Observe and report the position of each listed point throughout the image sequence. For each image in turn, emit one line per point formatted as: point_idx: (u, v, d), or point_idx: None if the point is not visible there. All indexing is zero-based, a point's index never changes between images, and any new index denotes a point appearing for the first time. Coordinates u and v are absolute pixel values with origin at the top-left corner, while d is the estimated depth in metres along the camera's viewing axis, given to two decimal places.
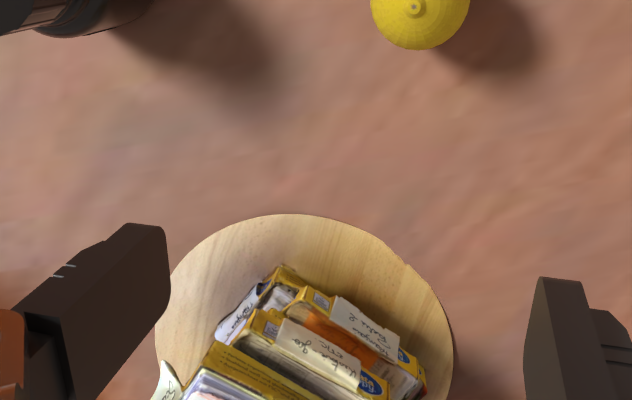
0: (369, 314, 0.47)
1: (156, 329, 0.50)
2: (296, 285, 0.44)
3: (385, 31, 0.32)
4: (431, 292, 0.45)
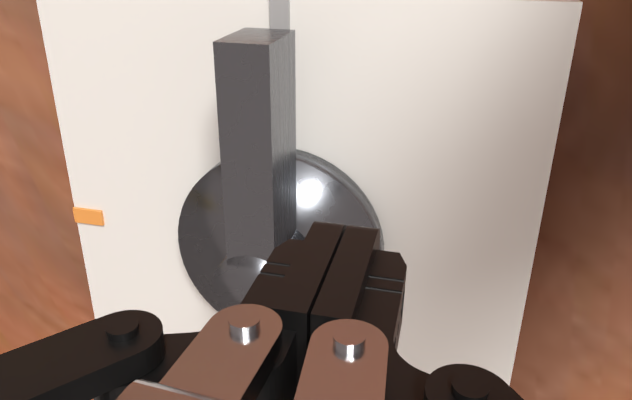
0: None
1: None
2: None
3: None
4: None
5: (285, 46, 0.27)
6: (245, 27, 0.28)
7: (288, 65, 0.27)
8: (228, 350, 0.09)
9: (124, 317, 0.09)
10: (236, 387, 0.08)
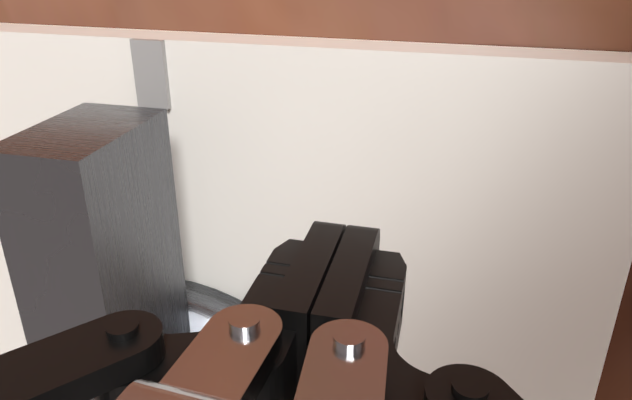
0: None
1: None
2: None
3: None
4: None
5: (138, 145, 0.15)
6: (84, 102, 0.16)
7: (151, 174, 0.15)
8: (228, 350, 0.09)
9: (124, 317, 0.09)
10: (236, 387, 0.08)
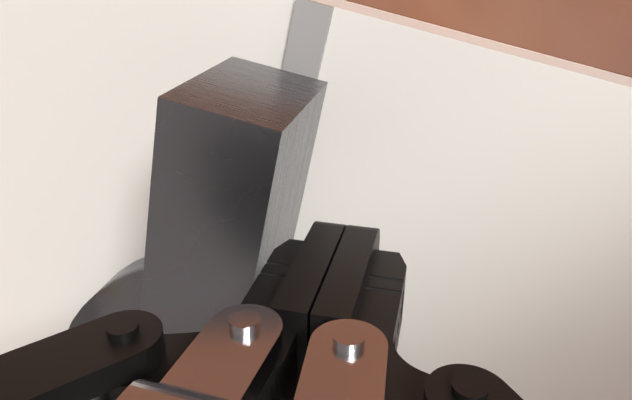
0: None
1: None
2: None
3: None
4: None
5: (307, 119, 0.13)
6: (232, 56, 0.15)
7: (304, 151, 0.14)
8: (228, 350, 0.09)
9: (123, 318, 0.09)
10: (236, 388, 0.08)
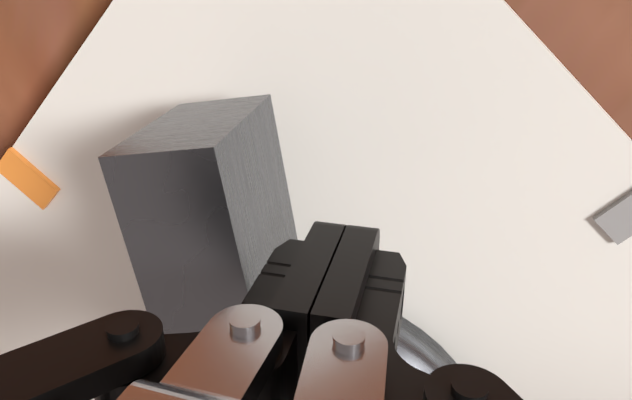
0: None
1: None
2: None
3: None
4: None
5: (255, 133, 0.13)
6: (179, 104, 0.15)
7: (268, 164, 0.14)
8: (228, 350, 0.09)
9: (124, 318, 0.09)
10: (236, 388, 0.08)
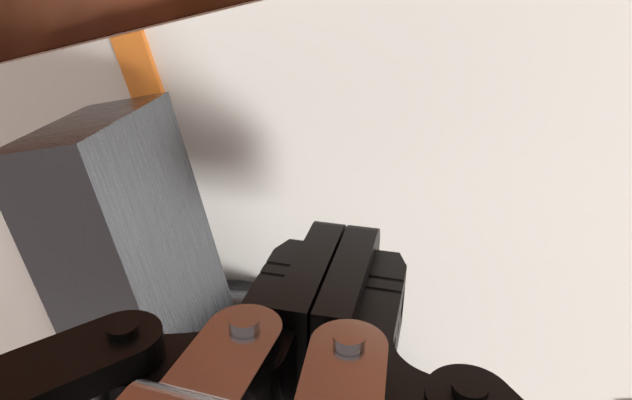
0: None
1: None
2: None
3: None
4: None
5: (143, 129, 0.14)
6: None
7: (164, 160, 0.15)
8: (228, 350, 0.09)
9: (124, 318, 0.09)
10: (236, 387, 0.08)
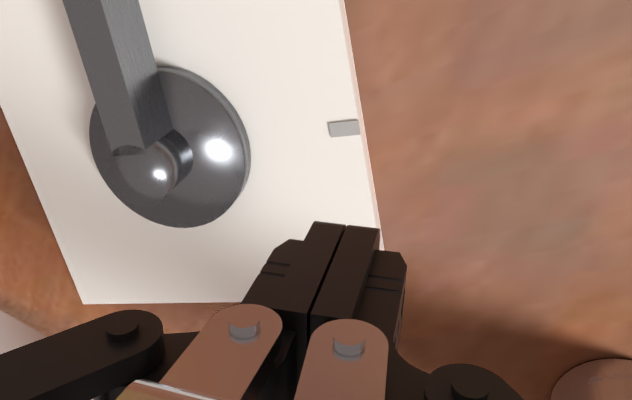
0: None
1: None
2: None
3: None
4: None
5: None
6: None
7: None
8: (228, 350, 0.09)
9: (124, 317, 0.09)
10: (236, 387, 0.08)
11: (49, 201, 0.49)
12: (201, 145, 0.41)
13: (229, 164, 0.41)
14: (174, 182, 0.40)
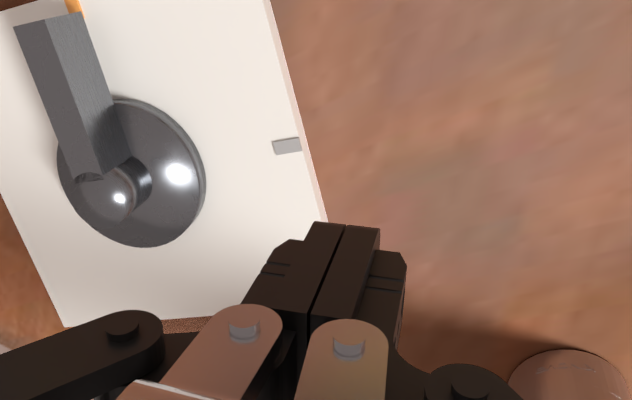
0: None
1: None
2: None
3: None
4: None
5: (69, 21, 0.39)
6: None
7: (78, 34, 0.40)
8: (228, 350, 0.09)
9: (124, 317, 0.09)
10: (236, 387, 0.08)
11: (26, 230, 0.52)
12: (158, 169, 0.44)
13: (185, 185, 0.44)
14: (133, 204, 0.43)
